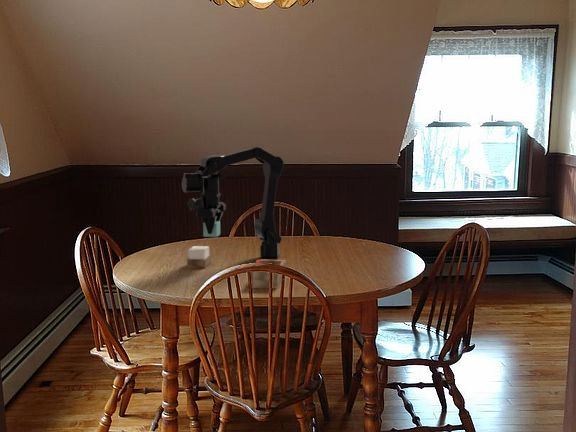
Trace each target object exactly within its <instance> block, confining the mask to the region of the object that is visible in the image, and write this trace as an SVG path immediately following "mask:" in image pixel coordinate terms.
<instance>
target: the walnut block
mask: <svg viewBox="0 0 576 432" xmlns="http://www.w3.org/2000/svg"><path fill="white" fill-rule="evenodd" d="M210 265H212V255H211V254H209V256H208V257H207V258H206V259H189V257H188V258H187V259H186V266H187V267H186V268H188V269H207V268H208V267H209V266H210ZM206 267H207V268H206Z"/></svg>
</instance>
